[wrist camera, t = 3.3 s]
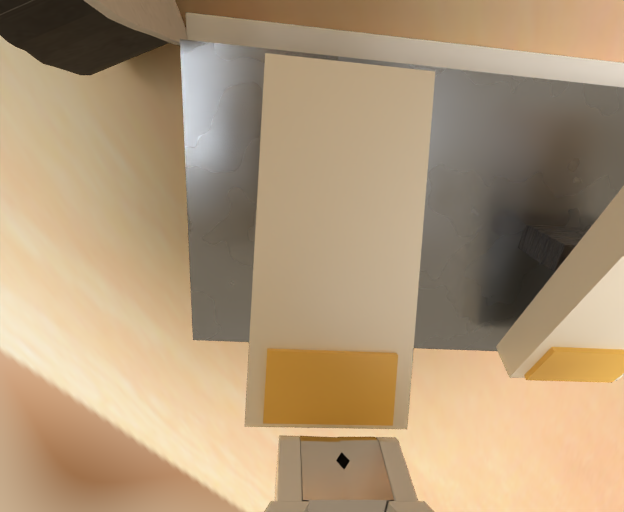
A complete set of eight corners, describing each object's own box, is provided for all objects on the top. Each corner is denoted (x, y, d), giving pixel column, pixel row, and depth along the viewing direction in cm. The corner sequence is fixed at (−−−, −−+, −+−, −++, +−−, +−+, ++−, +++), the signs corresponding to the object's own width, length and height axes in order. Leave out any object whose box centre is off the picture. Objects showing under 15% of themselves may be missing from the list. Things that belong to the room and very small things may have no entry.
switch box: (211, 56, 16) (155, 26, 9) (638, 101, 18) (850, 103, 11) (214, 284, 20) (178, 376, 13) (557, 301, 22) (675, 390, 15)
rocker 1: (266, 76, 11) (264, 49, 9) (416, 91, 11) (438, 68, 10) (248, 403, 11) (243, 430, 10) (392, 406, 12) (409, 432, 10)
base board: (191, 17, 16) (183, 10, 15) (652, 70, 18) (678, 68, 17) (201, 327, 22) (196, 340, 21) (543, 340, 24) (556, 353, 23)
